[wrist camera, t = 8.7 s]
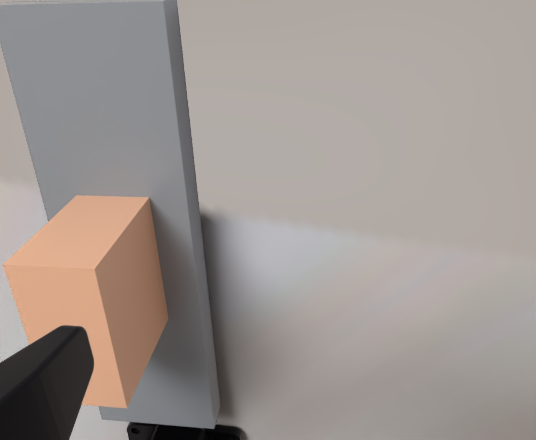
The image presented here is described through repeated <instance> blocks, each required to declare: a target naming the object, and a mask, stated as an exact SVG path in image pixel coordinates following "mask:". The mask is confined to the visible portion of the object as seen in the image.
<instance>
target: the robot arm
mask: <svg viewBox="0 0 536 440" xmlns="http://www.w3.org/2000/svg"><path fill="white" fill-rule="evenodd" d="M93 369H94V357H93V354H92V350H91V346H90V342H89V339H88V335H87V332H86V330H85V328H84V327H81V326H73V325H62V326H59V327H57V328H56V329H54V330H53V331H51V332H49V333H48V334H46V335H44V336H43V337H41V338H40V339H38V340H36V341H35V342H33V343H31V344H30V345H28V346H27V347H25V348H23V349H22V350H20V351H19V352H17V353H15V354H14V355H12V356H10V357H9V358H7V359H6V360H4V361H2V362H1V363H0V440H69V438H70V436H71V433H72V430H73V427H74V424H75V421H76V419H77V416H78V413H79V410H80V407H81V404H82V402H83V399H84V396H85V393H86V390H87V388H88V385H89V382H90V379H91V376H92V373H93ZM127 433H128V437H129V440H242V433H241V431H240V430H239V429H237V428H234V427H224V426H215V428H214V429H209V428H197V427H186V426H174V425H162V424H151V423H139V422H130V423H129V425H128V427H127Z"/></svg>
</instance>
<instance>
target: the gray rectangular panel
mask: <svg viewBox="0 0 536 440" xmlns="http://www.w3.org/2000/svg"><path fill="white" fill-rule="evenodd" d="M0 44H1V48H2V51H3V55H4V59H5V62H6V66H7V70H8V73H9V77H10V81H11V84H12V88H13V92H14V95H15V99H16V103H17V107H18V110H19V114H20V118H21V121H22V125H23V129H24V132H25V136H26V140H27V144H28V147H29V151H30V155H31V159H32V162H33V166H34V170H35V173H36V177H37V181H38V184H39V188H40V192H41V195H42V199H43V203H44V207H45V210H46V214H47V218H48V221H49V222H48V223H47V224H46V225H44V226H43V227H42V228H41V229H40V230H39V231H38V232H37V233H36V234H35V235H34V236H33V237H32V238H31V239H30V240H29V241H27V242H26V243H25V244H24V245H23V246H22V247H21V248H20V249H19V250H18V251H17V252H16V253H15V254H14V255H13V256H12V257H10V258H9V259H8V260H7V261H6V262H5V263H4V264H3V267H4V270H5V273H6V276H7V279H8V282H9V285H10V288H11V291H12V294H13V297H14V300H15V303H16V306H17V309H18V312H19V315H20V318H21V321H22V324H23V327H24V330H25V333H26V336H27V338H28V341H29V344H31V343H33V342H35V341H36V340H38V339H40V338H41V337H43V336H44V335H46V334H48V333H49V332H51V331H53V330H54V329H56V328H57V327H59V326H62V325H73V326H81V327H84V328H85V330H86V332H87V335H88V339H89V342H90V346H91V350H92V354H93V357H94V369H93V373H92V376H91V379H90V382H89V385H88V388H87V390H86V393H85V396H84V399H83V402H82V404H81V405H92V406H99V410H100V414H101V417H102V419H104V420H116V421H127V422H139V423H151V424H162V425H174V426H186V427H197V428H209V429H214V428H215V424H216V421H217V417H218V413H219V409H220V397H219V387H218V378H217V369H216V360H215V350H214V341H213V332H212V323H211V313H210V304H209V295H208V285H207V276H206V267H205V258H204V248H203V239H202V230H201V221H200V211H199V202H198V193H197V184H196V174H195V166H194V156H193V147H192V138H191V128H190V119H189V109H188V101H187V91H186V82H185V73H184V64H183V54H182V46H181V35H180V26H179V17H178V8H177V0H44V1H42V0H39V1H13V2H7V3H1V4H0Z"/></svg>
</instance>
